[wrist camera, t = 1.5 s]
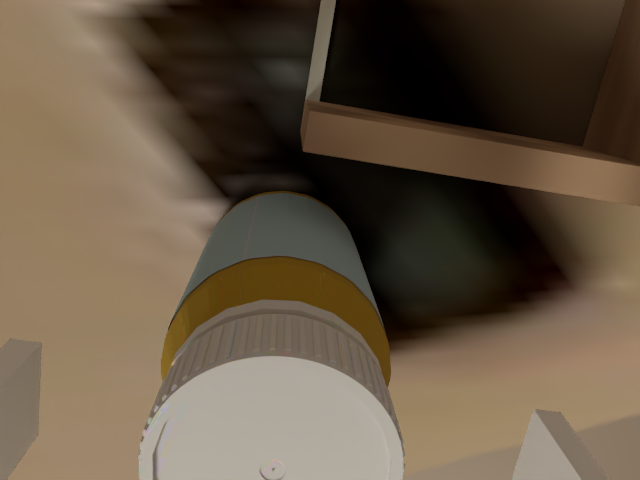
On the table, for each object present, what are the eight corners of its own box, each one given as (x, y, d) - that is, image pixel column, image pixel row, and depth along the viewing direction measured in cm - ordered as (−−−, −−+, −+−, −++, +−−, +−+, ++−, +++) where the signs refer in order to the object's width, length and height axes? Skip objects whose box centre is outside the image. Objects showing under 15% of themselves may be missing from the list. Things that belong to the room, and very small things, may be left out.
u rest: (300, 131, 26) (302, 151, 20) (353, -204, 22) (375, -294, 17) (602, 181, 27) (684, 213, 22) (698, -128, 24) (827, -187, 18)
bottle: (320, 163, 27) (356, 286, 12) (377, 295, 29) (464, 532, 14) (181, 223, 27) (58, 408, 13) (246, 348, 29) (203, 629, 15)
